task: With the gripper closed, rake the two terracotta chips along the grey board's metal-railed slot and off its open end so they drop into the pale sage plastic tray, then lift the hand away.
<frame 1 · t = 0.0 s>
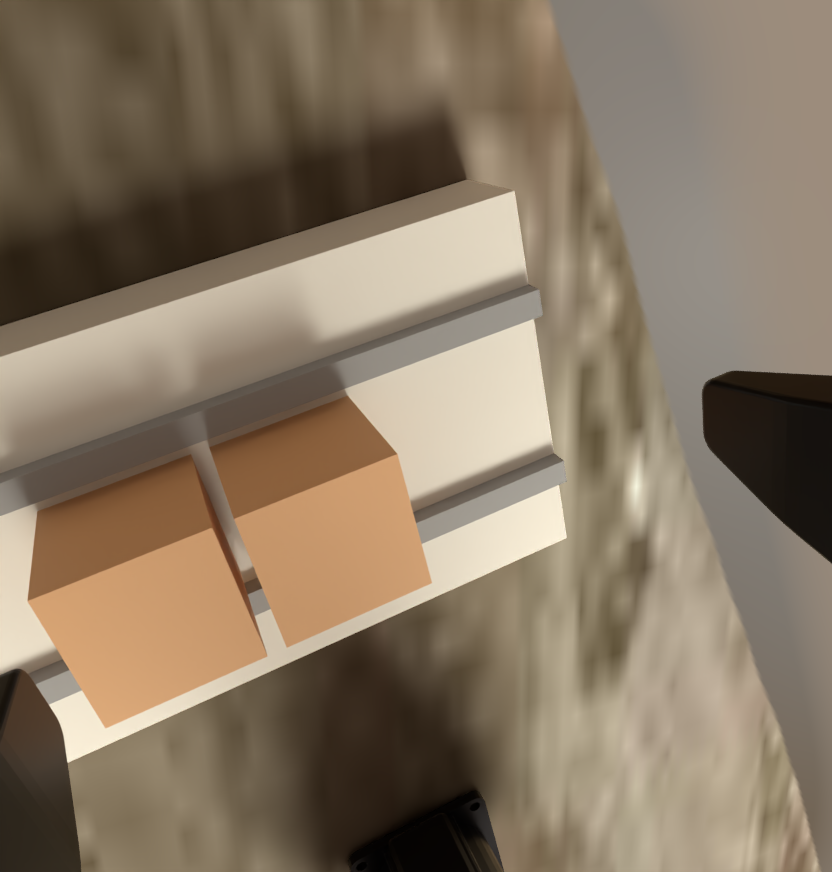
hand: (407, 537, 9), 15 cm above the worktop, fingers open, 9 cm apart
chip b: (145, 542, 21), point 3 cm above the worktop, touching slot board
slot board: (233, 457, 24), on the worktop
chip a: (300, 481, 22), point 3 cm above the worktop, touching slot board
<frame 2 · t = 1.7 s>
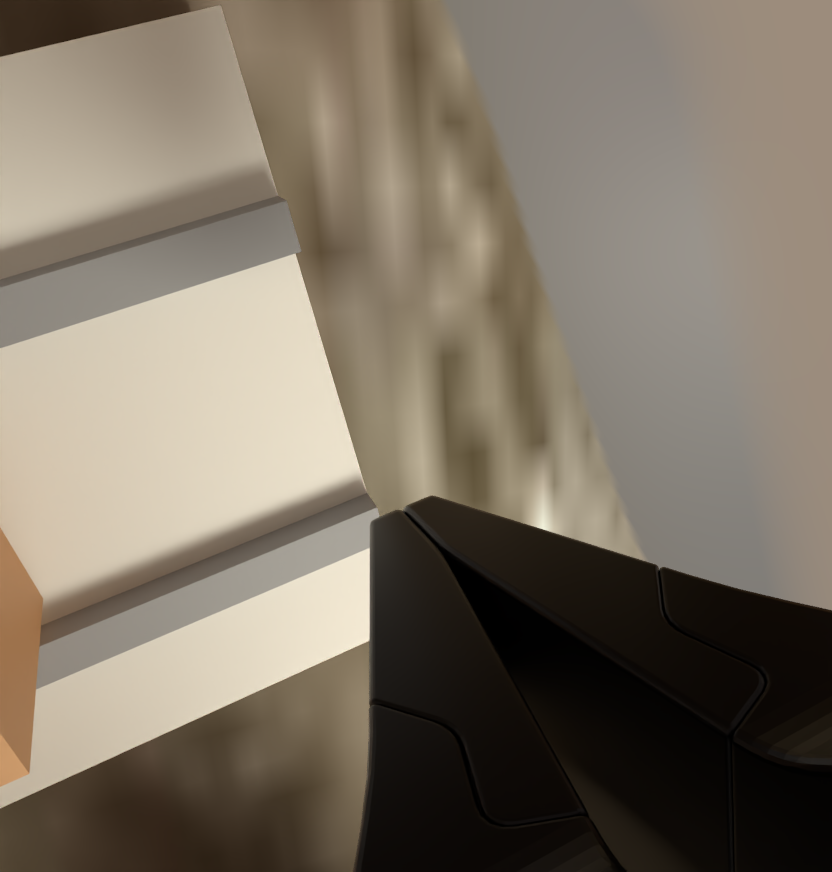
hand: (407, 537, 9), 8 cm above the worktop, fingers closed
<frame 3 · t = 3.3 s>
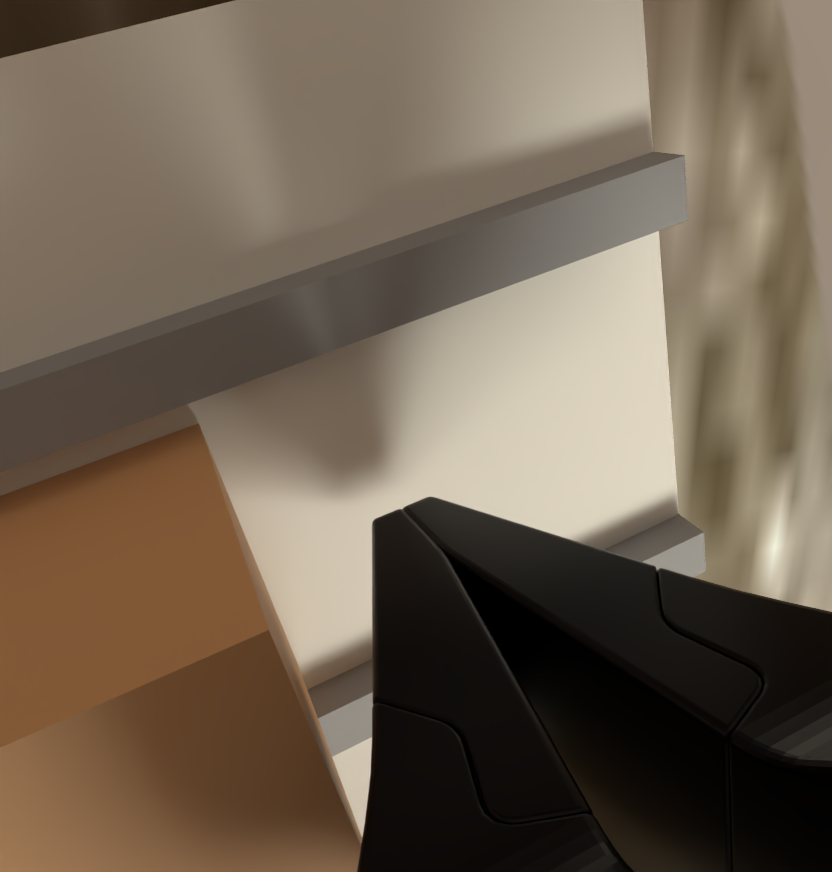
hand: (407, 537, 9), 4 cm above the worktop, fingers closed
slot board: (30, 533, 12), on the worktop
chip a: (98, 620, 9), point 3 cm above the worktop, touching chip b, gripper, slot board
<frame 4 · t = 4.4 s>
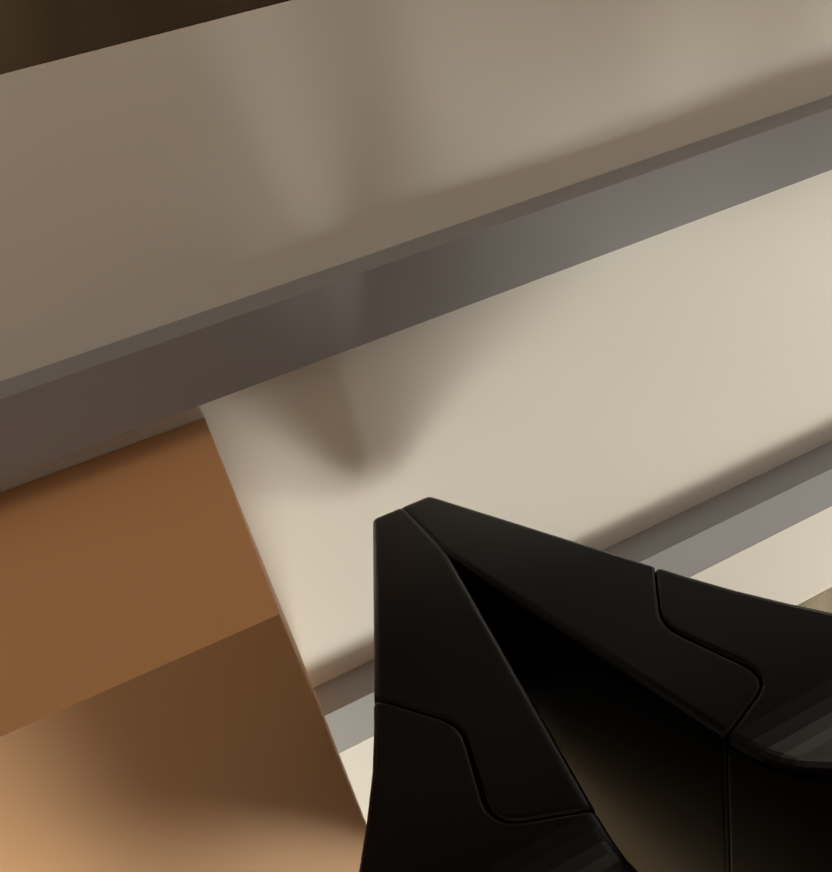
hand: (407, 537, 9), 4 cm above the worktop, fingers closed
slot board: (479, 361, 14), on the worktop
chip a: (104, 613, 10), point 3 cm above the worktop, touching gripper
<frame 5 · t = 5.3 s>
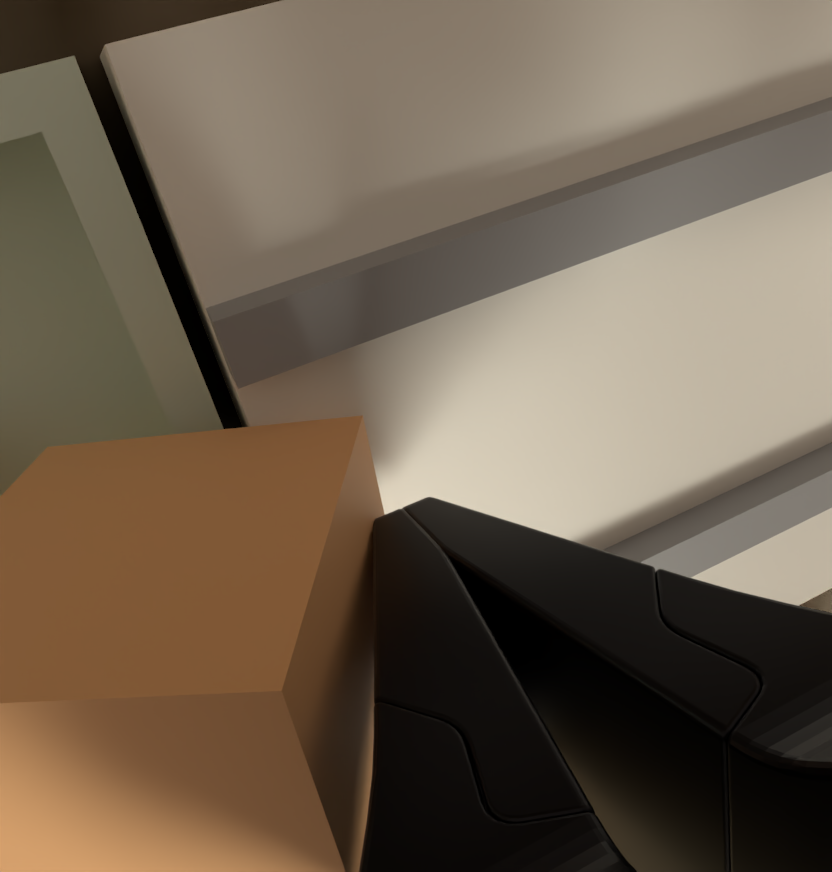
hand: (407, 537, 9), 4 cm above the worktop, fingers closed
slot board: (716, 269, 15), on the worktop
chip a: (244, 561, 10), point 3 cm above the worktop, tilted 27°, touching chip b, gripper
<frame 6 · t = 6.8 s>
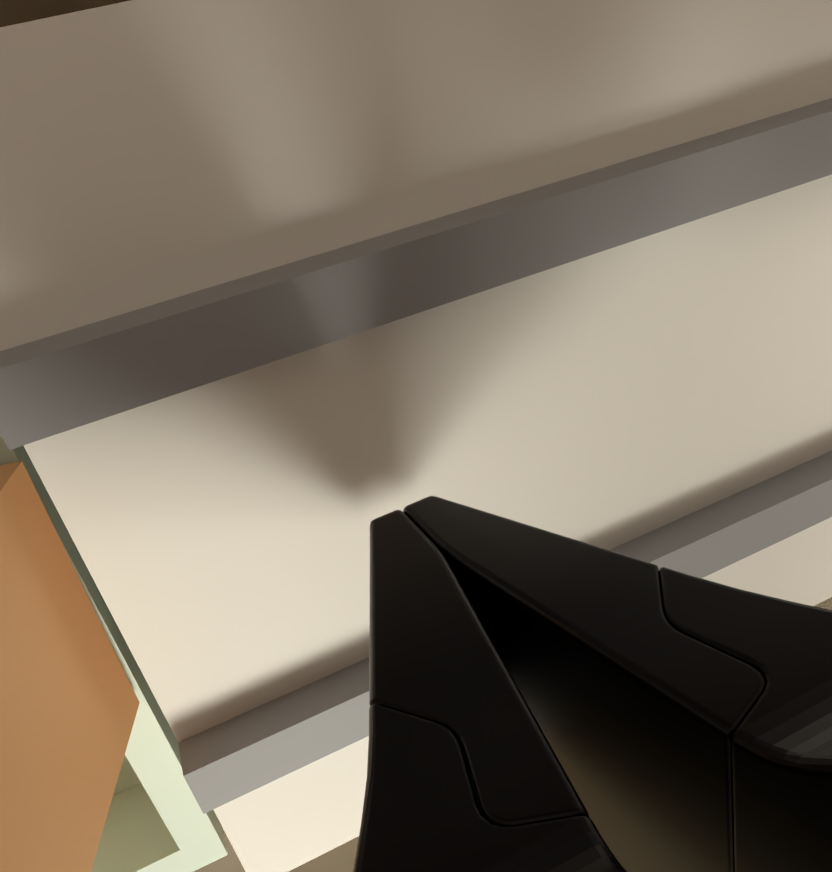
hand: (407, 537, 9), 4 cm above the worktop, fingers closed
slot board: (622, 305, 14), on the worktop
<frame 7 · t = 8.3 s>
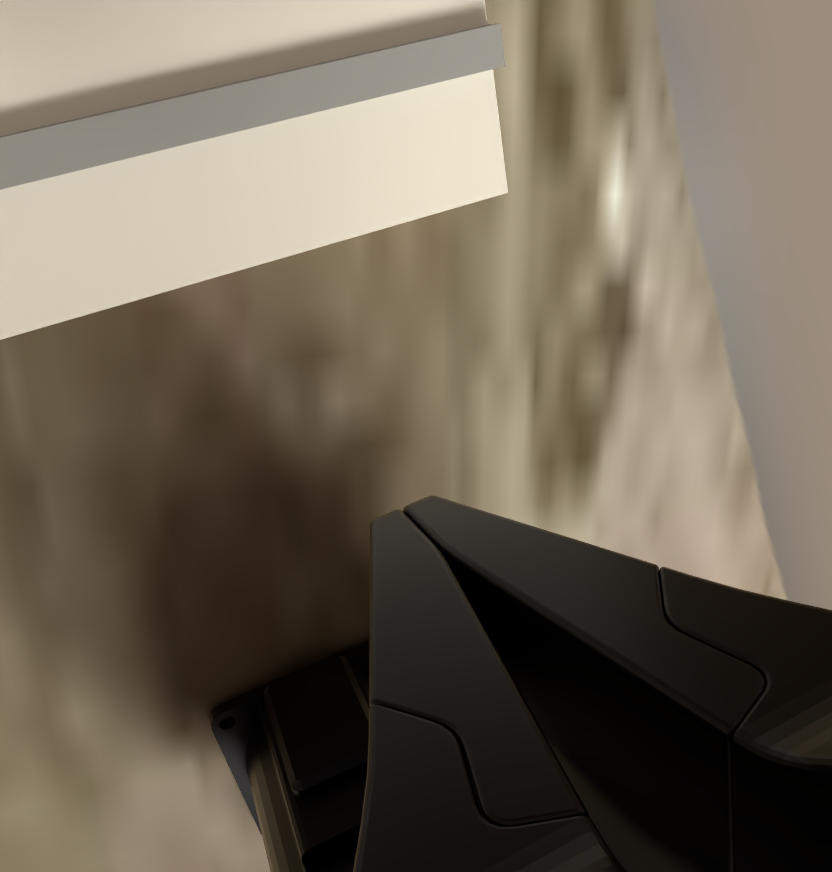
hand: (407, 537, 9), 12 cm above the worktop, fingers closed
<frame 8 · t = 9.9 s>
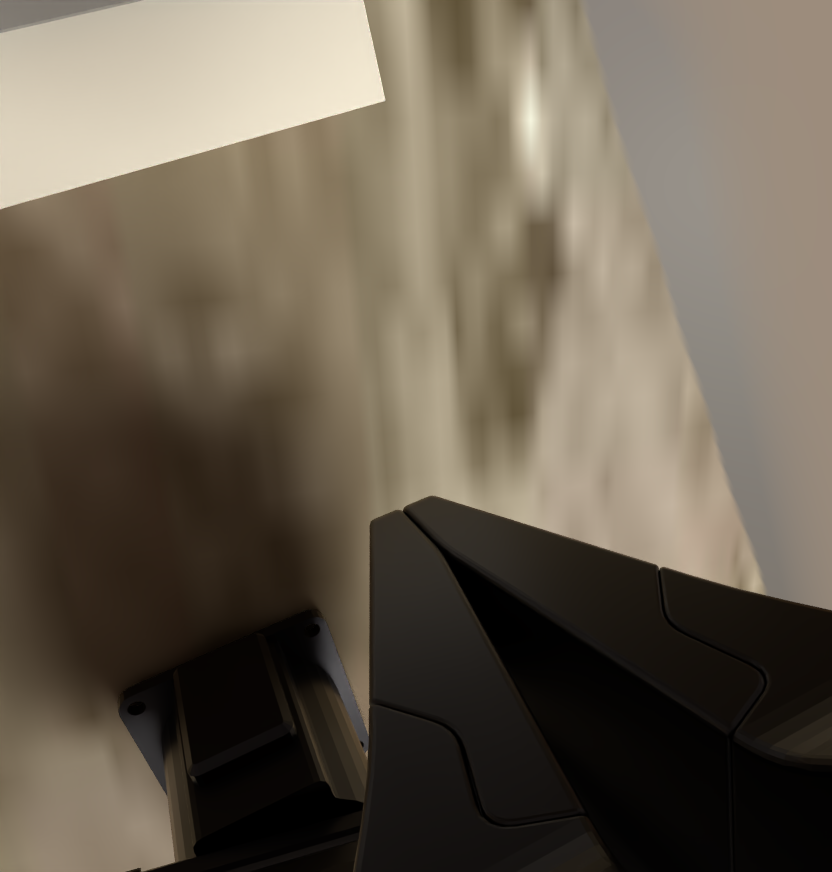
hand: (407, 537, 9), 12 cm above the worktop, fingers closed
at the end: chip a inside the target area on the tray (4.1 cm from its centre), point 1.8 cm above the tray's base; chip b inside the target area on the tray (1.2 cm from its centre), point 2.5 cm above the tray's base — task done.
